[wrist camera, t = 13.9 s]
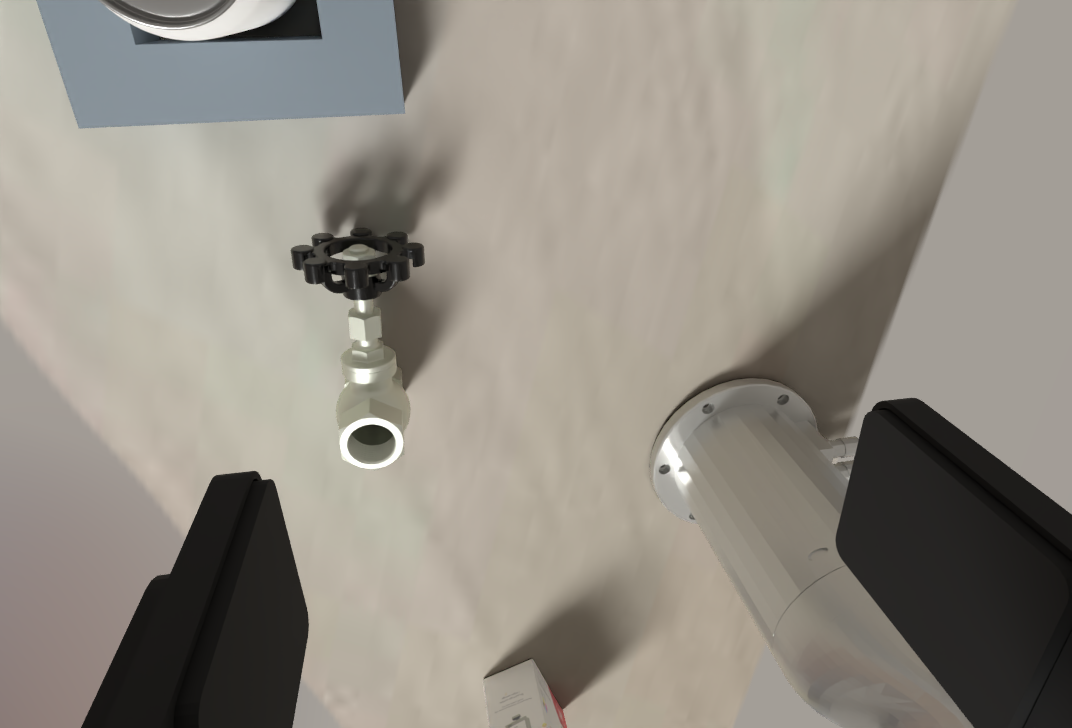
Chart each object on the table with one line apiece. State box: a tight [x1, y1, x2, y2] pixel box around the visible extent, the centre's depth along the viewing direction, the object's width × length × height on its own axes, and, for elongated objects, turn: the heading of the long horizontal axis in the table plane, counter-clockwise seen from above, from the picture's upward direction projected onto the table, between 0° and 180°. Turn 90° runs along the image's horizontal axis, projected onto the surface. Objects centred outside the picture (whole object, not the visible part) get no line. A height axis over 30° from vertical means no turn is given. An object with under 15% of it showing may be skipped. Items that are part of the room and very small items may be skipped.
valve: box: [291, 228, 425, 471], centre depth 37 cm, size 7×7×12 cm
